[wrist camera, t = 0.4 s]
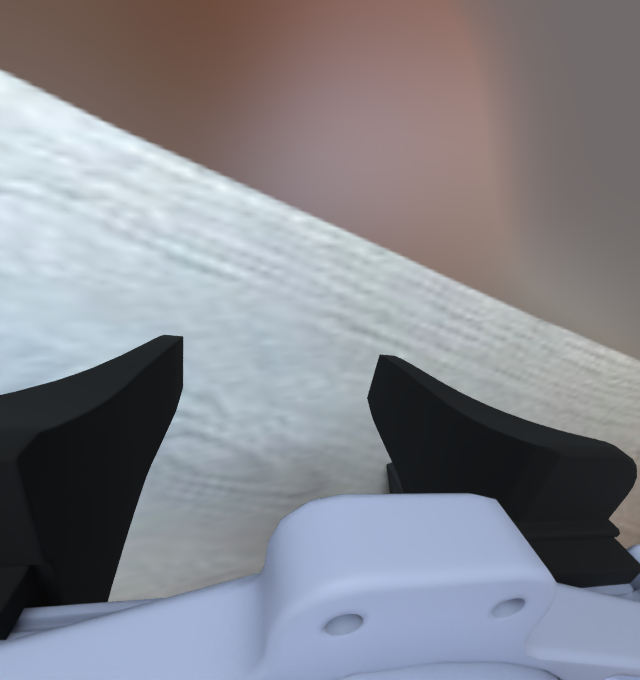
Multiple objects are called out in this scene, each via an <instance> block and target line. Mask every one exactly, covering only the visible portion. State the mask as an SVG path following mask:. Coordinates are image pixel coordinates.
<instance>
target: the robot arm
mask: <svg viewBox="0 0 640 680" xmlns="http://www.w3.org/2000/svg"><path fill="white" fill-rule="evenodd" d="M182 389H183V336H172V335H162V336H160V337H157V338H155V339H153V340H151V341H149V342H147V343H145V344H143V345H141V346H139V347H137V348H135V349H133V350H131V351H129V352H127V353H125V354H123V355H121V356H119V357H116V358H114V359H112V360H110V361H107V362H105V363H103V364H101V365H98V366H96V367H94V368H91V369H88V370H86V371H83V372H80V373H78V374H75V375H72V376H69V377H66V378H63V379H60V380H57V381H53V382H50V383H46V384H42V385H38V386H35V387H31V388H27V389H24V390H20V391H16V392H12V393H8V394H3V395H0V680H640V544H637V545H633V546H631V547H629V548H627V549H625V548H624V547H623V546H622V545H621V544H620V543H619V542H618V541H617V540H616V539H615V538H614V537H617V536H618V535H619V534H620V532H619V529H618V528H617V527H616V526H615V525H614V524H613V523H612V522H611V521H610V520H609V517H610V516H611V515H612V514H613V512H614V511H615V510H616V509H617V507H618V506H619V505H620V504H621V502H622V501H623V500H624V499H625V497H626V496H627V495H628V493H629V492H630V490H631V489H632V487H633V486H634V483H635V480H636V478H637V467H636V464H635V462H634V460H633V459H632V458H631V457H629V456H628V455H627V454H625V453H624V452H623V451H621V450H620V449H619V448H617V447H616V446H614V445H612V444H610V443H607V442H604V441H600V440H596V439H592V438H588V437H584V436H580V435H576V434H572V433H567V432H564V431H560V430H556V429H553V428H550V427H546V426H543V425H540V424H536V423H533V422H530V421H527V420H524V419H522V418H519V417H516V416H513V415H511V414H508V413H505V412H503V411H500V410H498V409H495V408H493V407H490V406H488V405H486V404H484V403H481V402H479V401H477V400H475V399H473V398H471V397H469V396H466V395H464V394H462V393H461V392H459V391H457V390H455V389H453V388H451V387H449V386H448V385H446V384H444V383H442V382H441V381H439V380H437V379H435V378H434V377H432V376H430V375H429V374H427V373H425V372H424V371H422V370H420V369H419V368H417V367H415V366H413V365H412V364H410V363H408V362H406V361H405V360H403V359H401V358H398V357H396V356H391V355H379V359H378V362H377V366H376V369H375V373H374V376H373V380H372V383H371V387H370V390H369V394H368V397H367V399H368V403H369V407H370V411H371V414H372V417H373V420H374V423H375V425H376V427H377V430H378V432H379V434H380V436H381V439H382V441H383V443H384V445H385V447H386V450H387V452H388V454H389V456H390V458H391V461H392V463H393V465H394V467H395V470H396V472H397V475H398V477H399V480H400V483H401V486H402V489H403V492H404V494H340V495H335V496H330V497H325V498H320V499H314V500H310V501H309V502H307V503H306V504H304V505H302V506H301V507H299V508H298V509H296V510H294V511H293V512H291V513H289V514H288V515H286V516H285V517H284V518H283V519H281V521H280V523H279V524H278V526H277V528H276V529H275V531H274V533H273V535H272V536H271V538H270V540H269V541H268V547H267V552H266V558H265V564H264V567H263V570H262V572H261V573H257V574H253V575H250V576H246V577H242V578H239V579H235V580H231V581H227V582H224V583H220V584H216V585H212V586H209V587H205V588H201V589H198V590H194V591H190V592H186V593H183V594H179V595H175V596H172V597H168V598H158V599H144V600H130V601H117V602H108V598H109V595H110V591H111V587H112V584H113V581H114V577H115V574H116V571H117V567H118V564H119V560H120V557H121V554H122V550H123V547H124V544H125V540H126V537H127V534H128V531H129V528H130V525H131V521H132V518H133V515H134V512H135V509H136V506H137V503H138V500H139V497H140V494H141V491H142V488H143V485H144V482H145V479H146V476H147V474H148V472H149V469H150V467H151V464H152V462H153V460H154V458H155V456H156V454H157V451H158V449H159V447H160V445H161V443H162V441H163V438H164V436H165V434H166V432H167V430H168V428H169V425H170V423H171V421H172V419H173V417H174V414H175V412H176V409H177V406H178V403H179V400H180V396H181V392H182Z"/></svg>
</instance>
